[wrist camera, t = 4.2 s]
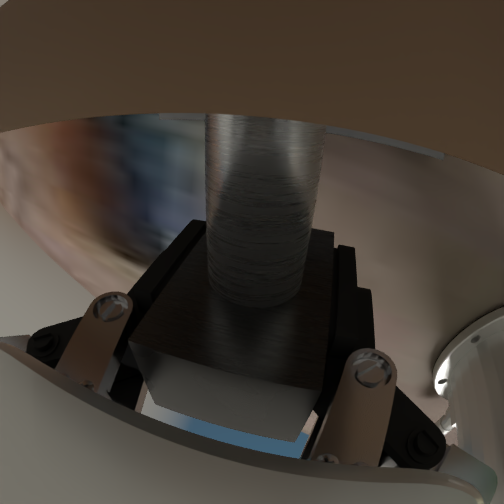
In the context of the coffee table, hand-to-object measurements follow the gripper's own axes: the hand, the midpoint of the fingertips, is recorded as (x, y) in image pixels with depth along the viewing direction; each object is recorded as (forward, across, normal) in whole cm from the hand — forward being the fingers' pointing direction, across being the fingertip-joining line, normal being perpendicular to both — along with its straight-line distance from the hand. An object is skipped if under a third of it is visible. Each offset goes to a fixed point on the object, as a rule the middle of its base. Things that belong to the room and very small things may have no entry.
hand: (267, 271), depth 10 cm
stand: (+5, 0, -12) cm, 13 cm away
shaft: (+1, 0, -9) cm, 9 cm away
